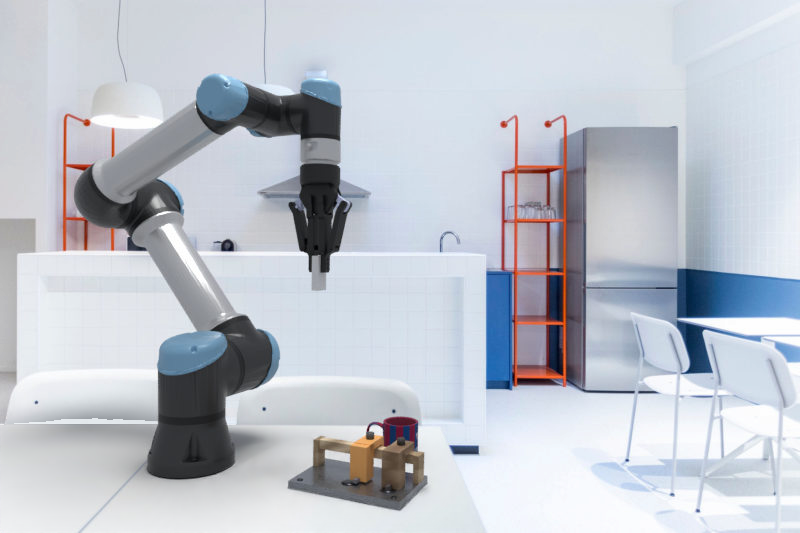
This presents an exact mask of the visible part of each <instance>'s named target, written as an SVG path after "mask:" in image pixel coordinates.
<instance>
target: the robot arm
mask: <svg viewBox="0 0 800 533" xmlns="http://www.w3.org/2000/svg"><path fill="white" fill-rule="evenodd" d="M341 94H342V91H341V86H340V84H338V82H336V81H334V80H333V79H329V78H322V77H312V78H307V79H305V80H303V81H302V82H301V84H300V89H299V92H298V93H296V94H289V95H288V94H287V95H286V94H285V95H279V94H278V95H276V94H274V93H271V92H269V91H267V90H264V89H262V88H259V87H256V86H254V85H251V84H249V83H247V82H244V81H242V80H240V79H238V78H237V77H234V76H230V75H225V74H221V73H211V74H209V75H207V76H205V77H203V79H201V82H200V84H199V86H198V87H197V89H196V94H195V99H194V101H192V102H190V103H189V104H187V105H185V107H183V108H182V109H180V110H179V111H177V112H176V113H175V114H173V115H172V116H170V117H169V118H167V119H166V120H165V121H163V122H162V123H160V124H159V125H157V126H155V128H153V129H152V130H150V131H148V132H147V133H146V134H144V135H143V136H141V137H140V138H138V139H136V141H134V142H132V143H130V145H128V146H126V147H125V148H124V149H122V150H121V151H119V152H118V153H116V154H115V155H113V157H110V158H107V157H105V158H104V157H103V158H100V159H98V160H97V161H95V162H94V163H92V164H91V165H90V166H89V167H87V168H86V169H85V170H83V172H82V173H81V174H80V175H79V177H78V178H77V179H76V182H75V184H74V188H73V189H74V190H73V200H74V203H75V204H74V205H75V207H76V209H77V211H78V213H80V215H81V216H82V218H84V220H86V221H87V222H89V223H90V224H92V225H94V226H97V227H99V228H103V229H113V230H114V229H115V230H116V229H117V230H125V231H126V233H127V235H128V236H129V238H130V239H131V241H132V242H133V244H134V245H135V246H136V247H140V248H145V250H146V251H147V253H148V254H149V256H150V258H151V259H152V261H153V263H154V264H155V266H156V267H157V268H158V271H159V272H160V274H161V275H162V278H163V279H164V280H165V281H166V283H167V285H168V287H169V289H170V290H171V291H172V293H173V294H174V296H175V298H176V300H177V301H178V302H179V305H180V306H181V308H182V310H183V311H184V312H185V314H186V316H187V317H188V319H189V321H190V323H191V325H193V327H194V329H195V330H196V331H194V332H185V333H180V334H176V335H174V336H170V337H169V338H167V339H166V340H164V341H162V343H161V344H160V347H159V349H158V359H157V363H156V367H157V426H156V429H155V432H154V435H153V438H152V441H151V445H150V449H149V450H148V452H147V457H146V460H147V461H146V466H147V467H146V469H147V471H148V473H150V474H152V475H155V476H157V477H162V478H169V479H190V478H191V479H192V478H198V477H204V476H209V475H213V474H216V473H220V472H222V471H224V470H226V469H228V468H230V467H231V466H232V465H234V463H235V461H236V447H235V444H234V443H233V441H232V437H231V433H230V430H229V429H230V428H229V426H228V423H227V419H226V415H227V414H226V404H227V402H226V399H227V397H230V396H231V397H232V396H234V395H237V394H241V393H244V392H248V391H252V390H255V389H258V388H260V387H261V386H264V385H266V384H268V382H270V381H271V380H272V379H273V378H274V376H275V375H276V374H277V371H278V370H279V366H280V364H279V363H280V359H281V351H280V345H279V343H278V341H277V339H276V338H275V336H274V335H273V334H272V333H270V332H269V331H267V330H264V329H261V328H256V327H255V325H254V324H253V322H252V320H251V319H250V317H249V316H248V315H247V314H246V313H239V312H237V311H236V309H235V308H234V306H233V304H232V303H231V302H230V300H229V299H228V297H227V296H226V294H225V293H224V291H223V290H222V288H221V287H220V285H219V283H218V281H217V280H216V279H215V277H214V276H213V274H212V272H211V271H210V269H209V268H208V266H207V265H206V262H205V261H204V260H203V258H202V256H201V255H200V253H199V252H198V250H197V249H196V248H195V246H194V245H193V244H194V243H192V241H191V240H190V238H189V236H188V235H187V233H186V231H185V230H184V228H183V226H184V223H185V218H184V216H185V215H184V213H185V209H184V208H183V206H184V205H185V202H184V199H183V197H182V195H181V193H180V191H179V190H178V188H177V187H175V185H173V183H170V182H169V181H167V180H164V179H160V178H159V177H162V175H164V174H166V173H167V172H169V171H170V170H172V169H173V168H175V167H177V166H178V165H179V164H181V163H182V162H185V160H188V159H189V158H191V157H192V156H194V155H195V154H196V153H198V152H199V151H201V150H203V149H204V148H206V147H207V146H209V145H210V144H211V143H213V142H214V141H216V140H218V139H219V138H221V137H223V136H224V135H226V134H227V133H229V132H231V131H233V129H235V128H237V127H242V128H245V129H246V130H247V131H248V132H249V134H250V135H251V136H253V137H255V138H266V139H270V138H271V139H273V138H275V137H276V138H277V137H286V136H287V137H288V136H300V148H299V149H300V150H299V151H300V153H299V154H300V157H299V158H300V159H299V161H300V162H301V163H302V164H301V165H300V166H299V183H300V184H299V185H300V186H301V188H300V191H299V194H298V198H297V199H295V201H289V202H288V208H289V210H290V212H291V213H292V219H293V223H294V228H295V233H296V238H297V244H298V249H299V251H300V252H303V253H305V254H307V256H308V272H309V273H311V291H314V292H315V291H316V292H318V291H319V292H320V291H326V290H327V273H330V271H331V255H333V254H335V253H338V252H340V249H341V244H342V241H343V240H342V239H343V236H344V231H345V225H346V222H347V218H348V213H349V212H350V210H351V208H352V207H353V202H352V201H349V200H347V199H345V198H344V197H342V193H341V191H340V185H341V167H340V166H339V164H340V163H342V162H341V160H342V158H341V157H342V156H341V154H342V152H341V151H342V150H341V128H342V127H341V125H342V123H341V122H342V108H343V106H342V95H341ZM335 208H336V210H335ZM334 210H335V211H334ZM332 220H333V221H332Z"/></svg>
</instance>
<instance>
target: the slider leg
mask: <svg viewBox="0 0 800 533" xmlns="http://www.w3.org/2000/svg"><path fill="white" fill-rule="evenodd" d="M353 442H354V443H353V444H352V445H350V454H349V462H350V480H353V483H355V484H357V483H358V482H367V481H369V480H370V479H371V478H373V475H374V467H375V465H374V464H375V462H374V461H375V460H374V459H375V458H374V449H375V448H377V447H378V446H383V447H384V440H383V435H378V434H375V432H374V431H370V430H369V432H365V435H363V436H362V437H360V438H359V439H357V440H355V441H353Z"/></svg>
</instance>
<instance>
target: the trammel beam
mask: <svg viewBox="0 0 800 533" xmlns="http://www.w3.org/2000/svg"><path fill="white" fill-rule="evenodd" d="M312 441H313V444H312V445H313V446H312V449H313V450H312V455H313V456H312V466H319V465H321V464H323V463H324V462H325V458H326V451H330V452H335V453H337V452H338V453H342V454H343V453H344V454H348V455H350V445H352V444H353V443H354V442H355V441H351V440H343V439H337V438H330V437H326V436H323V435H319V436H318V437H316V438H314V439H313V440H312ZM374 459H378V460H381V468H382V475H381V487H385V491H390V490H391V489H396V490H399V489H401V488H402V487H403V486H404V485H405V472H406V464H409V465H412V473H413V483H414V484H419V483H420V482H422V481H423V480H424V474H425V452H424V451H420V450H418V452H415V451H414V442H412V441H405V438H404V437H398V438H397V441H395V442H394V443H392V444H391V445H389V446H387V447H383V446H378V447H377V448H375V449H374Z"/></svg>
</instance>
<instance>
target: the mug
mask: <svg viewBox="0 0 800 533" xmlns="http://www.w3.org/2000/svg"><path fill="white" fill-rule="evenodd" d="M382 422H383V423H382ZM382 422H378V421H372V422H370V423H368V425H367V428H366V432H369V431H370V428H371V427H372V426H375V425H376V426H378V427H380V428H381V429H382V436H383V440H384V447H387V446H389V445H391V444H392V443H394V442H395V441H397V438H398V437H404V438H405V441H412V442H414V451H415V452H418V451H419V448H418V447H419V420H418V419H416V418H414V417H409V416H390V417H387V418H385V419H384V420H383V421H382ZM366 432H365V433H366Z"/></svg>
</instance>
